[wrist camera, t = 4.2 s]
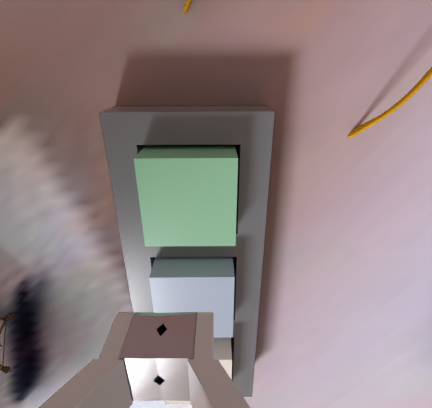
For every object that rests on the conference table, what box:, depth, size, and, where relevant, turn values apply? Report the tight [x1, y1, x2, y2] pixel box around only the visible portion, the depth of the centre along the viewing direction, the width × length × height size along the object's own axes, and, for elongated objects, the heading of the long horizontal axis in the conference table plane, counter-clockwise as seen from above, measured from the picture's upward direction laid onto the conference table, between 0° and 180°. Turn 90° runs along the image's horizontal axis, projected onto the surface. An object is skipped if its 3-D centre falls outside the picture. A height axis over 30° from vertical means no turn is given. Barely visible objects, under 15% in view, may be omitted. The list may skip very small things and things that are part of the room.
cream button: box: [165, 338, 232, 404], centre depth 27 cm, size 6×6×3 cm
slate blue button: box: [149, 257, 235, 338], centre depth 23 cm, size 6×6×3 cm
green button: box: [134, 145, 238, 247], centre depth 19 cm, size 6×6×3 cm
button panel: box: [99, 106, 275, 397], centre depth 25 cm, size 28×11×3 cm, turn 0°
